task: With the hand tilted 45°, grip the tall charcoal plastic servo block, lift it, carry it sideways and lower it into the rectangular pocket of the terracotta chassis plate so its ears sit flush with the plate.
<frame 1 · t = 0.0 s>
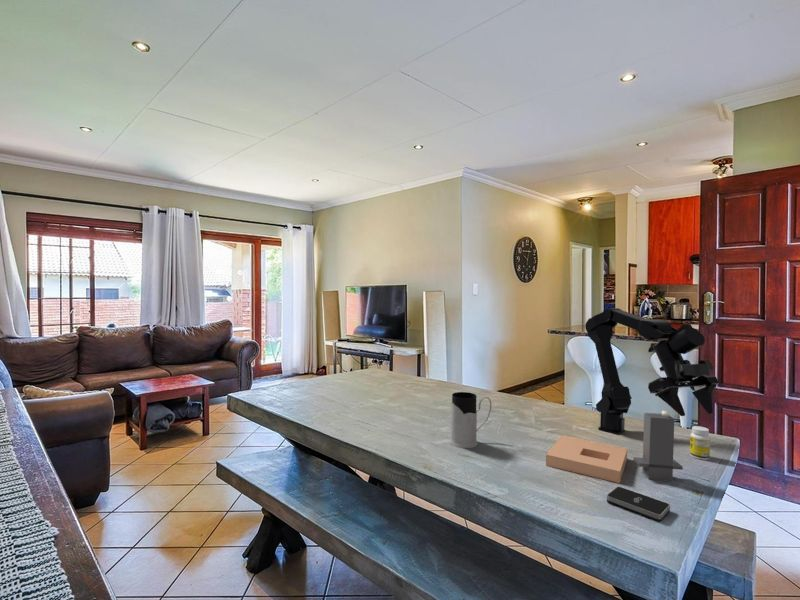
hand: (697, 414, 112), 15 cm above the table, fingers open, 9 cm apart
external hard drive: (637, 509, 93), on the table
servo: (657, 476, 108), on the table
supplement bottle: (699, 457, 121), on the table
chassis plate: (594, 464, 115), on the table
grey mug: (471, 442, 131), on the table
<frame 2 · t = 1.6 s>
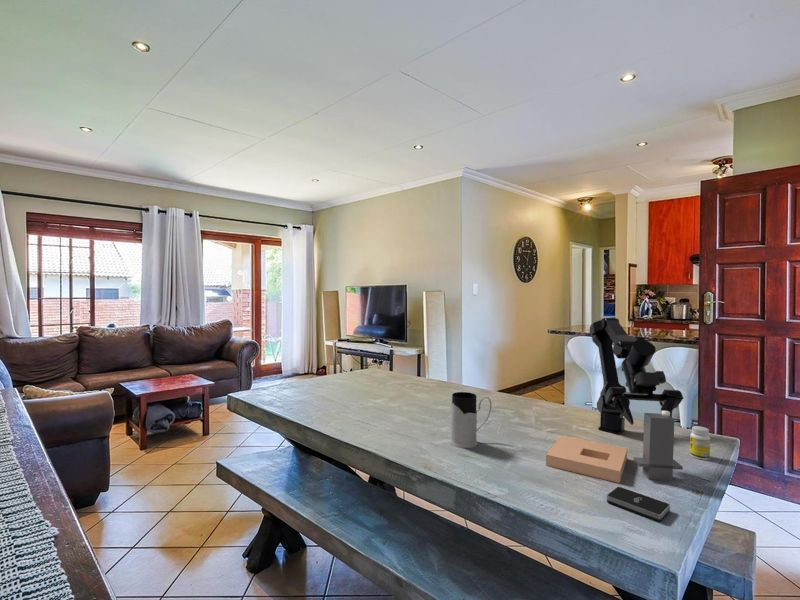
hand: (651, 425, 112), 12 cm above the table, fingers open, 9 cm apart
nothing on the table moved.
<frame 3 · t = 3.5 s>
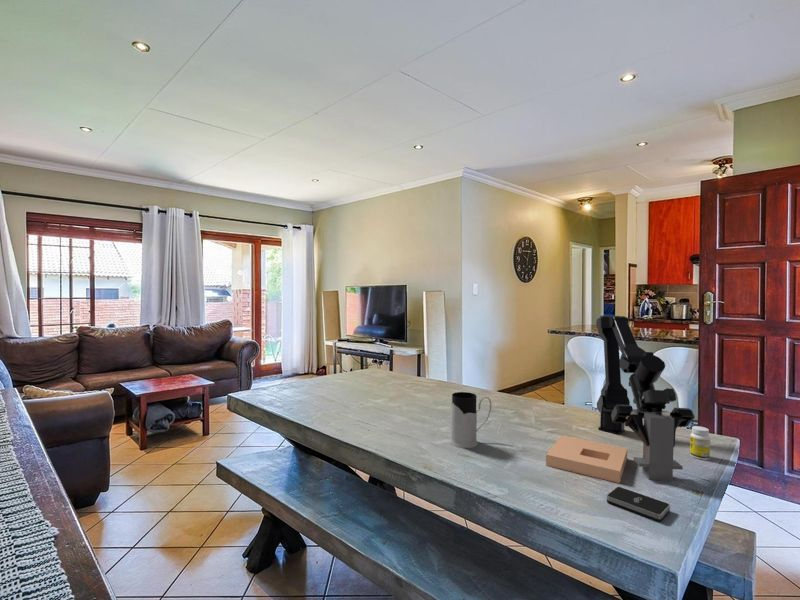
hand: (660, 446, 106), 9 cm above the table, fingers closed on servo, 5 cm apart
servo: (657, 476, 108), on the table, touching gripper
everything else where it was.
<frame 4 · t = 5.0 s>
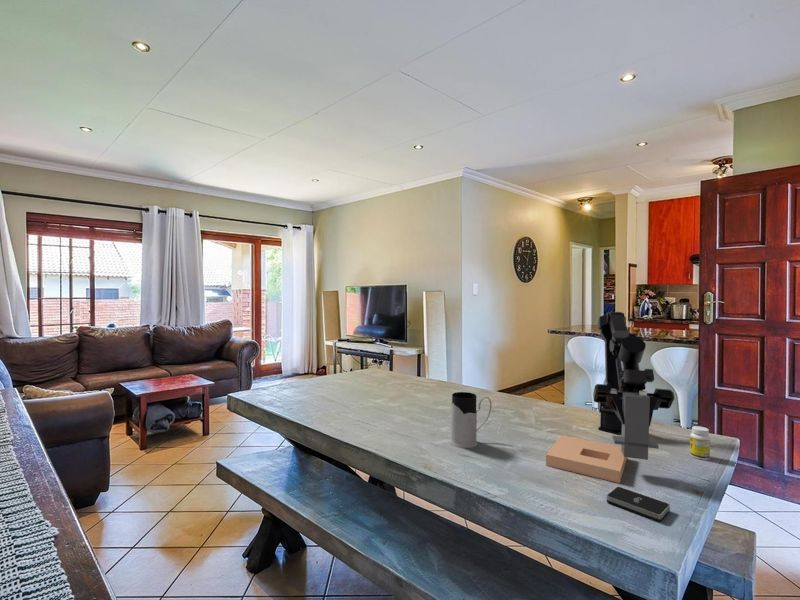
hand: (636, 424, 108), 13 cm above the table, fingers closed on servo, 5 cm apart
servo: (634, 455, 109), point 5 cm above the table, touching gripper
everything else where it was.
when the fingers open (10 cm above the table, at t = 6.9 s): servo drops 1 cm, resting in chassis plate.
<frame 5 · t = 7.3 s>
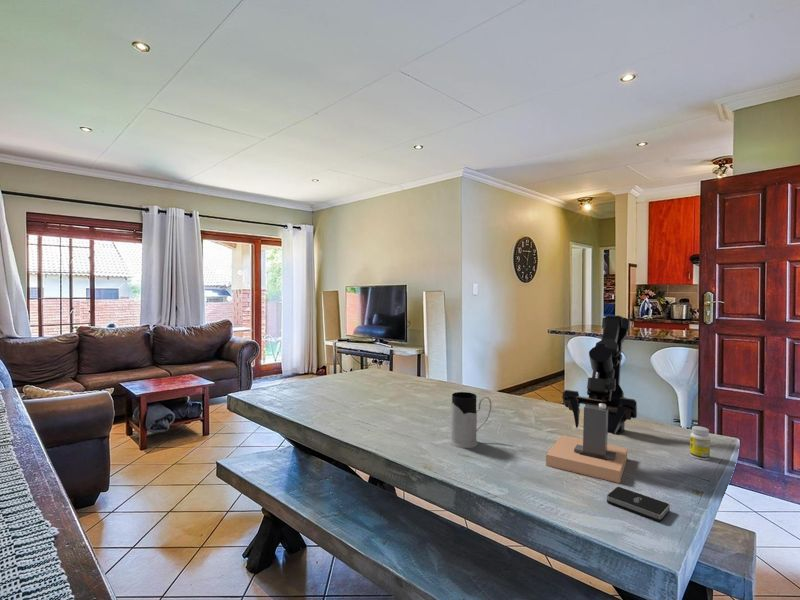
hand: (594, 430, 113), 10 cm above the table, fingers open, 9 cm apart
servo: (594, 465, 115), resting in chassis plate
everything else where it was.
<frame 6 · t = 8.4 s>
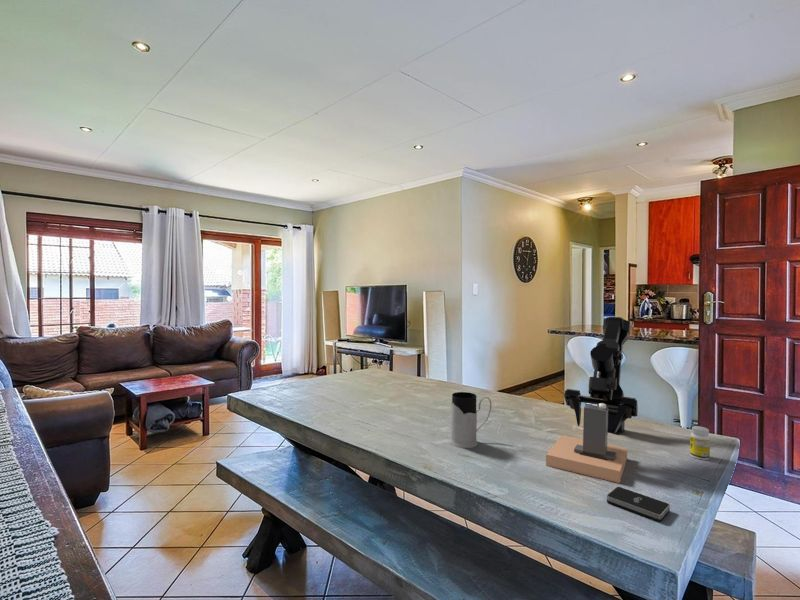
hand: (596, 428, 115), 10 cm above the table, fingers open, 9 cm apart
nothing on the table moved.
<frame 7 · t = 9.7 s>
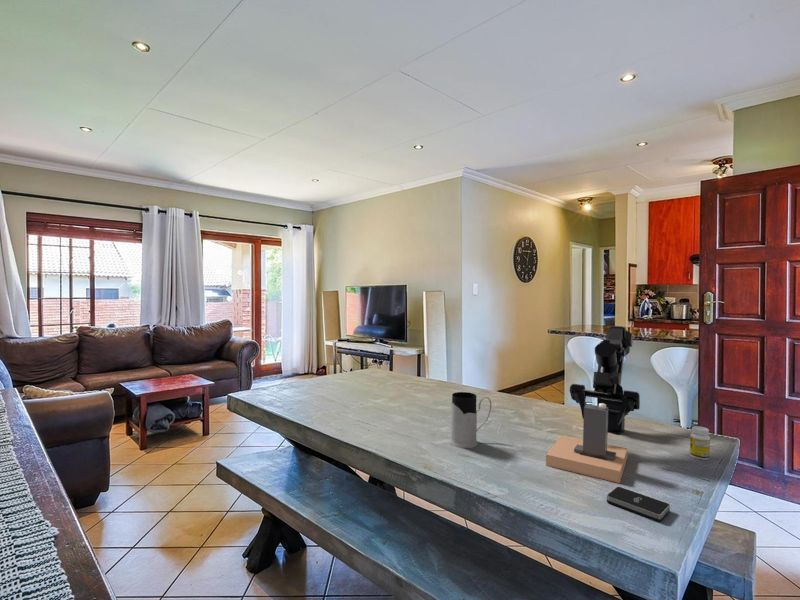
hand: (600, 421, 121), 10 cm above the table, fingers open, 9 cm apart
nothing on the table moved.
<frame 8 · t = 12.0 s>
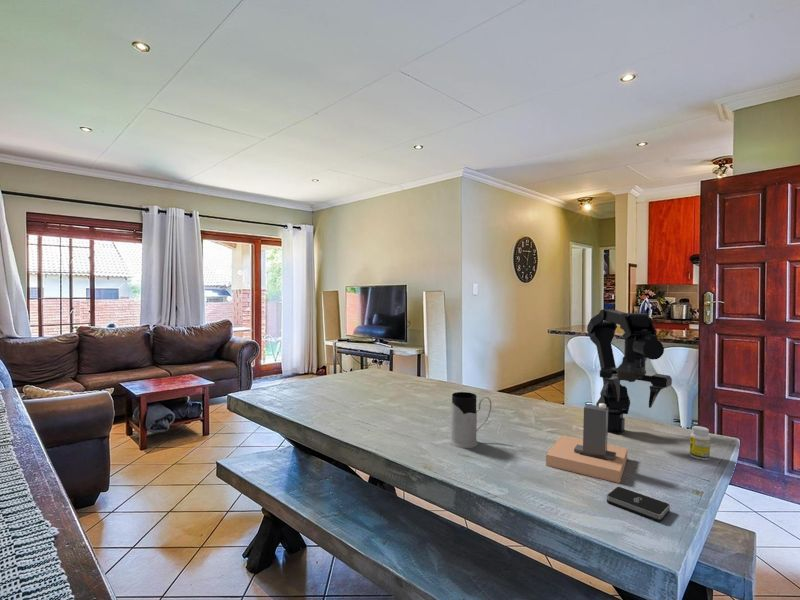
hand: (633, 404, 128), 13 cm above the table, fingers open, 9 cm apart
nothing on the table moved.
at the end: servo 0.0 cm off-centre on the chassis plate, point 0.0 cm above the chassis plate's base; servo tilted 0°; the gripper is holding nothing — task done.
